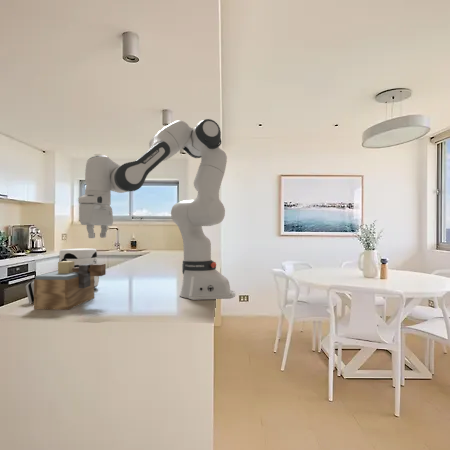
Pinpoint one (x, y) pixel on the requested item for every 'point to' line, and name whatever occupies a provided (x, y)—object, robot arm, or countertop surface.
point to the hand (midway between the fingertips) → (97, 237)
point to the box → (64, 291)
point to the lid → (60, 272)
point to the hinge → (30, 291)
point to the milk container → (80, 258)
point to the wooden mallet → (94, 269)
